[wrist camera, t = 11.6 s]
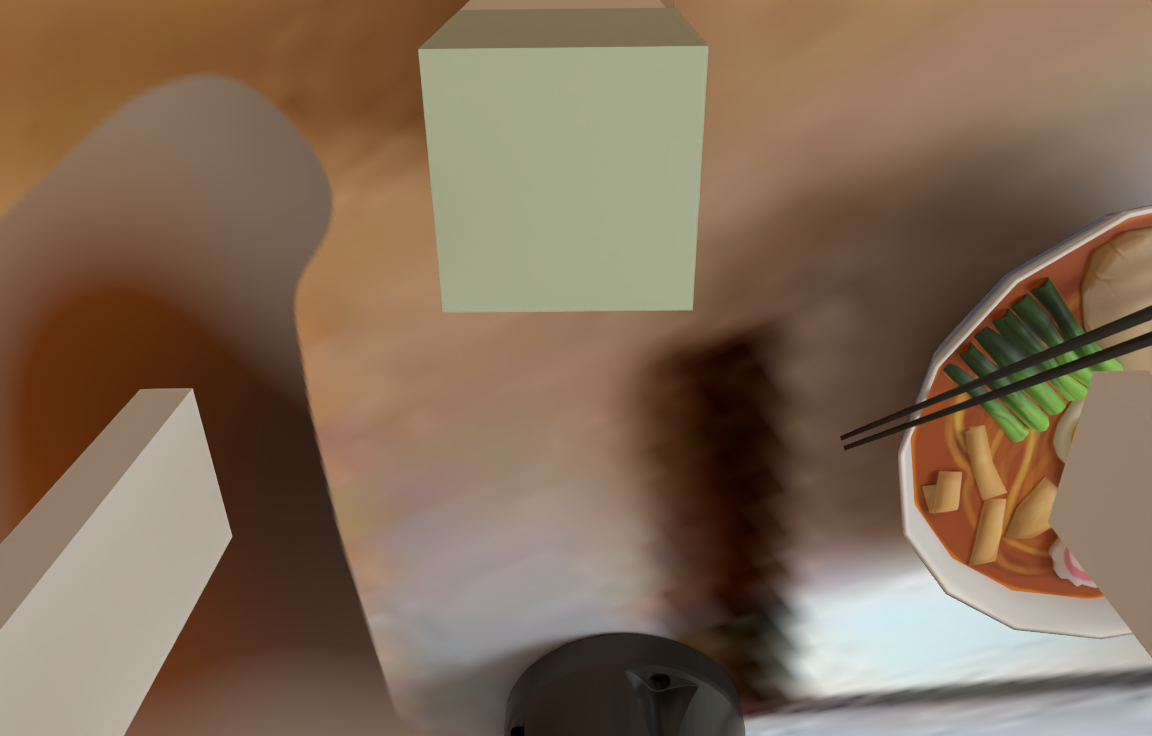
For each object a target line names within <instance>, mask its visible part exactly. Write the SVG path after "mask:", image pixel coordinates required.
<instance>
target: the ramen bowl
mask: <svg viewBox="0 0 1152 736" xmlns="http://www.w3.org/2000/svg"><path fill="white" fill-rule="evenodd" d="M1135 370H1147V371H1148V372H1149V373H1150V374H1152V205H1149V206H1144V207H1140V208H1135V209H1130V210H1126V211H1121V212H1116V213H1112V214H1108V215H1106V216H1104V217H1102V218H1101V219H1099V220H1097V221H1095V222H1093V223H1091V224H1090V225H1088V226H1086V227H1084V228H1083V229H1081V230H1079V231H1078V232H1076V233H1074V234H1073V235H1071V236H1069V237H1067V238H1066V239H1064V240H1062V241H1061V242H1059V243H1057V244H1056V245H1054V246H1052V247H1051V248H1049V249H1047V250H1045V251H1044V252H1042V253H1040V254H1039V255H1037V256H1035V257H1034V258H1032V259H1030V260H1028V261H1027V262H1025V263H1023V264H1022V265H1020V266H1018V267H1017V268H1015V269H1013V270H1012V271H1010V272H1008V273H1006V274H1005V275H1004V276H1003V277H1002V278H1001V279H1000V280H999V281H998V282H997V283H996V284H995V285H994V286H993V288H992V289H991V290H990V291H989V292H988V293H987V294H986V295H985V296H984V297H983V298H982V299H981V301H980V302H979V303H978V304H977V305H976V306H975V307H974V308H973V309H972V310H971V311H970V312H969V314H968V315H967V316H966V317H965V318H964V319H963V320H962V321H961V322H960V323H959V324H958V326H957V327H956V328H955V329H954V330H953V331H952V332H951V333H950V334H949V335H948V336H947V337H946V339H945V340H944V341H943V342H942V343H941V344H940V346H939V347H938V348H937V350H936V351H935V353H934V355H933V357H932V360H931V363H930V365H929V368H928V370H927V373H926V375H925V378H924V380H923V383H922V386H921V388H920V391H919V393H918V396H917V398H916V401H915V404H914V405H913V406H911V407H909V408H906V409H904V410H901V411H899V412H897V413H894V414H892V415H890V416H887V417H885V418H882V419H880V420H878V421H875V422H873V423H871V424H868V425H866V426H863V427H861V428H859V429H856V430H854V431H852V432H849V433H847V434H844V435H842V436H840V437H841V440H844V439H846V438H849V437H851V436H854V435H857V434H859V433H862V432H864V431H867V430H869V429H872V428H875V427H877V426H880V425H882V424H885V423H887V422H890V421H893V420H895V419H898V418H900V417H903V416H905V415H908V414H910V416H909V419H908V422H907V423H905V424H902V425H899V426H897V427H894V428H891V429H888V430H886V431H883V432H880V433H878V434H875V435H872V436H870V437H867V438H864V439H862V440H859V441H856V442H854V443H851V444H848V445H846V446H843V447H844V449H845V450H847V449H850V448H853V447H856V446H859V445H862V444H865V443H868V442H871V441H874V440H876V439H879V438H882V437H885V436H888V435H891V434H894V433H897V432H900V431H903V430H904V432H903V434H902V438H901V443H900V447H899V451H898V456H897V457H898V471H899V485H900V499H901V512H902V526H903V536H904V537H905V538H906V540H907V541H908V542H909V544H910V545H911V547H912V548H913V549H914V551H915V552H916V553H917V555H918V556H919V558H920V559H921V560H922V562H923V563H924V564H925V566H926V567H927V569H928V570H929V571H930V573H931V574H932V575H933V577H934V578H935V580H936V581H937V582H938V584H939V585H940V587H941V588H942V589H943V591H944V592H945V593H946V594H947V595H949V596H951V597H953V598H955V599H957V600H958V601H960V602H962V603H964V604H966V605H968V606H970V607H972V608H974V609H976V610H978V611H979V612H981V613H983V614H985V615H987V616H989V617H991V618H993V619H995V620H997V621H998V622H1000V623H1002V624H1004V625H1006V626H1008V627H1010V628H1012V629H1014V630H1021V631H1031V632H1040V633H1049V634H1059V635H1068V636H1077V637H1087V638H1096V639H1105V638H1111V637H1117V636H1123V635H1129V634H1133V633H1132V631H1131V630H1130V629H1129V627H1128V626H1127V625H1126V623H1125V622H1124V621H1123V620H1122V618H1121V617H1120V616H1119V614H1118V613H1117V612H1116V610H1115V609H1114V608H1113V607H1112V605H1111V604H1110V603H1109V601H1108V600H1107V599H1106V597H1105V596H1104V595H1103V594H1102V592H1101V591H1100V590H1099V588H1098V587H1097V586H1096V584H1095V583H1094V582H1093V581H1092V579H1091V578H1090V577H1089V575H1088V574H1087V573H1086V571H1085V570H1084V569H1083V568H1082V566H1081V565H1080V564H1079V562H1078V561H1077V560H1076V559H1075V557H1074V556H1073V555H1072V553H1071V552H1070V551H1069V549H1068V548H1067V547H1066V546H1065V544H1064V543H1063V542H1062V540H1061V539H1060V538H1059V536H1058V535H1057V534H1056V533H1055V531H1054V530H1053V529H1052V527H1051V526H1050V525H1049V523H1048V519H1049V516H1050V513H1051V510H1052V506H1053V503H1054V500H1055V496H1056V493H1057V490H1058V486H1059V483H1060V480H1061V477H1062V473H1063V470H1064V467H1065V463H1066V460H1067V457H1068V453H1069V450H1070V447H1071V443H1072V440H1073V437H1074V434H1075V430H1076V427H1077V424H1078V420H1079V417H1080V414H1081V410H1082V407H1083V404H1084V401H1085V397H1086V394H1087V391H1088V387H1089V384H1090V381H1091V377H1092V374H1093V371H1135Z"/></svg>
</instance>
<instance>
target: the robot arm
mask: <svg viewBox="0 0 1152 736" xmlns="http://www.w3.org/2000/svg"><path fill="white" fill-rule="evenodd" d="M1048 523H1049V525H1050V526H1051V527H1052V529H1053V530H1054V531H1055V533H1056V534H1057V535H1058V536H1059V538H1060V539H1061V540H1062V542H1063V543H1064V544H1065V546H1066V547H1067V548H1068V549H1069V551H1070V552H1071V553H1072V555H1073V556H1074V557H1075V559H1076V560H1077V561H1078V562H1079V564H1080V565H1081V566H1082V568H1083V569H1084V570H1085V571H1086V573H1087V574H1088V575H1089V577H1090V578H1091V579H1092V581H1093V582H1094V583H1095V584H1096V586H1097V587H1098V588H1099V590H1100V591H1101V592H1102V594H1103V595H1104V596H1105V597H1106V599H1107V600H1108V601H1109V603H1110V604H1111V605H1112V607H1113V608H1114V609H1115V610H1116V612H1117V613H1118V614H1119V616H1120V617H1121V618H1122V620H1123V621H1124V622H1125V623H1126V625H1127V626H1128V627H1129V629H1130V630H1131V631H1132V633H1133V634H1134V635H1135V636H1136V638H1137V639H1138V640H1139V642H1140V643H1141V644H1142V646H1143V647H1144V648H1145V649H1146V651H1147V652H1148V653H1149V655H1150V656H1151V657H1152V374H1150V373H1149V372H1148V371H1147V370H1135V371H1093V374H1092V377H1091V381H1090V384H1089V387H1088V391H1087V394H1086V397H1085V401H1084V404H1083V407H1082V410H1081V414H1080V417H1079V420H1078V424H1077V427H1076V430H1075V434H1074V437H1073V440H1072V443H1071V447H1070V450H1069V453H1068V457H1067V460H1066V463H1065V467H1064V470H1063V473H1062V477H1061V480H1060V483H1059V486H1058V490H1057V493H1056V496H1055V500H1054V503H1053V506H1052V510H1051V513H1050V516H1049V519H1048ZM231 538H232V534H231V530H230V526H229V523H228V520H227V515H226V512H225V508H224V505H223V500H222V497H221V493H220V489H219V486H218V482H217V478H216V474H215V471H214V467H213V463H212V460H211V456H210V452H209V448H208V445H207V441H206V437H205V433H204V429H203V426H202V422H201V418H200V415H199V411H198V407H197V403H196V400H195V396H194V392H193V389H192V388H188V389H185V388H184V389H140V390H139V391H138V393H137V394H136V395H135V396H134V397H133V398H132V399H131V401H130V402H128V404H127V405H126V406H125V407H124V408H123V409H122V410H121V411H120V413H119V414H118V415H117V416H116V417H115V418H114V419H113V420H112V421H111V423H110V424H109V425H108V426H107V427H106V428H105V429H104V430H103V431H102V432H101V434H100V435H99V436H98V437H97V438H96V439H95V440H94V441H93V442H92V444H91V445H90V446H89V447H88V448H87V449H86V450H85V451H84V452H83V454H82V455H81V456H80V457H79V458H78V459H77V460H76V461H75V462H74V464H73V465H72V466H71V467H70V468H69V469H68V470H67V471H66V473H65V474H64V475H63V476H62V477H61V478H60V479H59V480H58V481H57V482H56V484H55V485H54V486H53V487H52V488H51V489H50V490H49V491H48V492H47V494H46V495H45V496H44V497H43V498H42V499H41V500H40V501H39V502H38V503H37V505H36V506H35V507H34V508H33V509H32V510H31V511H30V512H29V513H28V515H27V516H26V517H25V518H24V519H23V520H22V521H21V522H20V523H19V524H18V526H17V527H16V528H15V529H14V530H13V531H12V532H11V533H10V534H9V536H8V537H7V538H6V539H5V540H4V541H3V542H2V543H1V544H0V736H124V734H125V733H126V731H127V729H128V727H129V725H130V723H131V722H132V720H133V718H134V716H135V714H136V712H137V710H138V709H139V707H140V705H141V703H142V701H143V699H144V698H145V696H146V694H147V692H148V690H149V688H150V687H151V685H152V683H153V681H154V679H155V677H156V676H157V674H158V672H159V670H160V668H161V666H162V665H163V663H164V661H165V659H166V657H167V655H168V653H169V651H170V650H171V648H172V646H173V644H174V643H175V641H176V639H177V637H178V635H179V633H180V632H181V630H182V628H183V626H184V624H185V622H186V620H187V619H188V617H189V615H190V613H191V611H192V610H193V608H194V606H195V604H196V602H197V600H198V599H199V596H200V595H201V593H202V591H203V589H204V587H205V585H206V584H207V582H208V580H209V578H210V576H211V574H212V573H213V571H214V569H215V567H216V565H217V564H218V562H219V560H220V558H221V556H222V554H223V553H224V551H225V549H226V547H227V545H228V543H229V541H230V540H231ZM504 736H745V726H744V721H743V716H742V711H741V706H740V701H739V697H738V694H737V691H736V689H735V687H734V685H733V683H732V681H731V680H730V678H729V677H728V676H727V674H726V673H725V672H724V671H723V670H722V669H721V668H720V667H719V666H718V665H717V664H716V663H715V662H713V661H712V660H711V659H710V658H708V657H707V656H705V655H704V654H702V653H700V652H698V651H697V650H694V649H692V648H690V647H688V646H686V645H683V644H681V643H678V642H675V641H671V640H667V639H663V638H659V637H653V636H646V635H633V634H619V635H607V636H599V637H594V638H589V639H585V640H581V641H577V642H574V643H571V644H569V645H566V646H564V647H561V648H559V649H557V650H555V651H553V652H551V653H549V654H548V655H546V656H544V657H543V658H541V659H540V660H538V661H537V662H536V663H534V664H533V665H532V666H531V667H530V668H529V669H528V670H527V671H526V672H525V673H524V674H523V675H522V676H521V677H520V679H519V680H518V681H517V683H516V685H515V686H514V688H513V690H512V692H511V694H510V697H509V700H508V704H507V709H506V720H505V732H504Z"/></svg>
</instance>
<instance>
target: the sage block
mask: <svg viewBox="0 0 1152 736" xmlns="http://www.w3.org/2000/svg"><path fill="white" fill-rule="evenodd" d="M708 47H709V46H708V45H707V44H706V42H705V41H704V40H703V39H702V38H701V37H700V36H699V35H698V33H697V32H696V31H695V30H694V29H693V28H692V27H691V25H690V24H689V23H688V22H687V21H686V20H685V19H684V18H683V16H682V15H681V14H680V13H679V12H678V11H677V10H676V8H593V9H505V10H459V11H458V12H457V13H455V14H454V15H453V16H452V17H451V18H450V19H449V20H448V21H447V22H446V23H445V24H444V25H443V26H442V27H441V28H440V29H439V30H438V31H437V32H436V33H434V34H433V35H432V36H431V37H430V38H429V39H428V40H427V41H426V42H425V43H424V44H423V45H422V46H421V47H420V48H419V49H418V53H419V64H420V75H421V85H422V96H423V106H424V117H425V128H426V138H427V149H428V159H429V170H430V180H431V191H432V202H433V212H434V223H435V233H436V244H437V255H438V265H439V276H440V286H441V297H442V307H443V312H547V311H656V310H693V295H694V278H695V262H696V245H697V229H698V212H699V196H700V179H701V163H702V146H703V130H704V113H705V96H706V80H707V63H708Z"/></svg>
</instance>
